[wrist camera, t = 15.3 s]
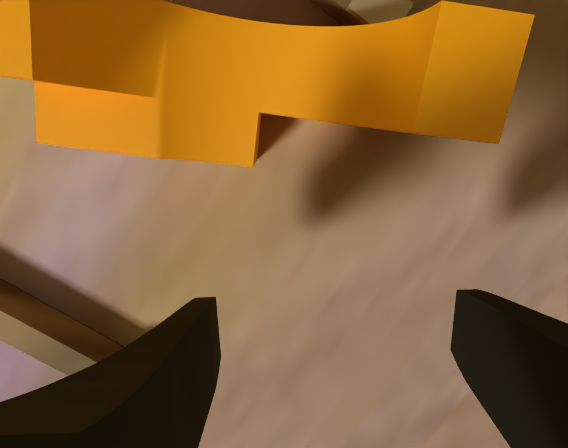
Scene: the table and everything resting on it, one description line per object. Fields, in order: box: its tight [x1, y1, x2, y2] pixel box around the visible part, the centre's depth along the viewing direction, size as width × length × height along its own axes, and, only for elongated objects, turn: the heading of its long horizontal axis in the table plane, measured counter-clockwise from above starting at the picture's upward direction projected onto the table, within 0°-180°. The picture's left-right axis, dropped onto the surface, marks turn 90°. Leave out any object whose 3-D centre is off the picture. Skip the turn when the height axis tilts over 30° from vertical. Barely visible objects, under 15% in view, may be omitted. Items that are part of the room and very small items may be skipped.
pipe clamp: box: [0, 0, 535, 167], centre depth 11 cm, size 12×4×6 cm, turn 83°
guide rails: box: [0, 0, 415, 376], centre depth 13 cm, size 18×18×2 cm
